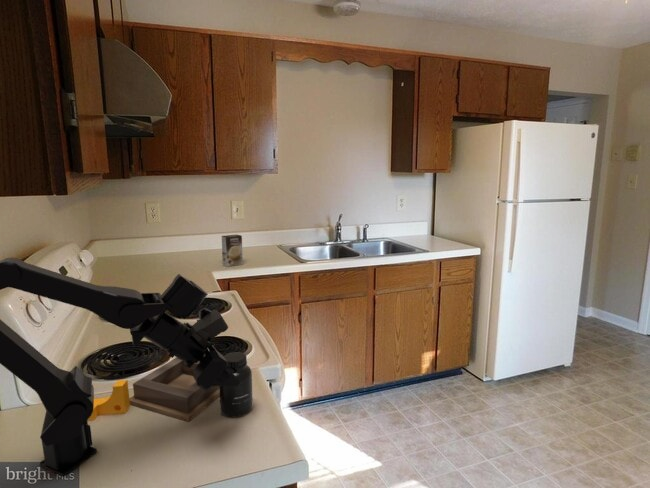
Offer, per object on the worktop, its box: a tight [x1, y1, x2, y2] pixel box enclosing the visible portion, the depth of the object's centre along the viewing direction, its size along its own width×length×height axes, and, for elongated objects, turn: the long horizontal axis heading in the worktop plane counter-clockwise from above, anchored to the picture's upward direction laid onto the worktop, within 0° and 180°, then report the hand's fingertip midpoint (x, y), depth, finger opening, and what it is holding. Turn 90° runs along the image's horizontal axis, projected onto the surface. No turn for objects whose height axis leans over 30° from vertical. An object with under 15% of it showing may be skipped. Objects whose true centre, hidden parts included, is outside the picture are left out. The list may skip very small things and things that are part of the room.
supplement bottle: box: [219, 351, 254, 418], centre depth 84 cm, size 7×7×12 cm
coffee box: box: [221, 234, 244, 268], centre depth 214 cm, size 9×6×16 cm
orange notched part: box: [87, 379, 131, 422], centre depth 83 cm, size 12×4×6 cm, turn 95°
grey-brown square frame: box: [129, 357, 220, 423], centre depth 92 cm, size 17×17×4 cm
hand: (232, 373), depth 84 cm, fingers open, 9 cm apart
